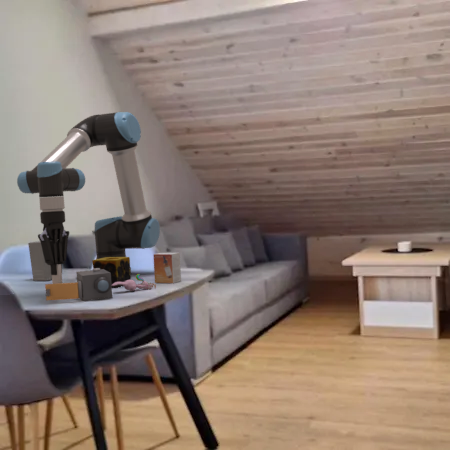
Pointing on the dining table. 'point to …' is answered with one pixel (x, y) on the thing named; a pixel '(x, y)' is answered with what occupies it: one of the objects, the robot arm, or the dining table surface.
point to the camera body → (95, 284)
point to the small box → (167, 267)
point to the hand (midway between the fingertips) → (57, 284)
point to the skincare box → (39, 262)
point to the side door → (63, 291)
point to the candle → (115, 268)
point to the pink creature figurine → (132, 285)
